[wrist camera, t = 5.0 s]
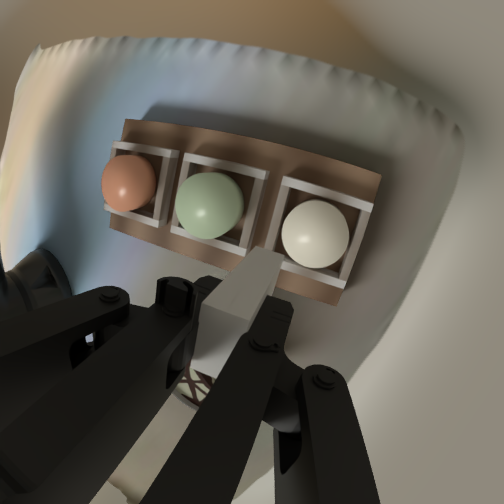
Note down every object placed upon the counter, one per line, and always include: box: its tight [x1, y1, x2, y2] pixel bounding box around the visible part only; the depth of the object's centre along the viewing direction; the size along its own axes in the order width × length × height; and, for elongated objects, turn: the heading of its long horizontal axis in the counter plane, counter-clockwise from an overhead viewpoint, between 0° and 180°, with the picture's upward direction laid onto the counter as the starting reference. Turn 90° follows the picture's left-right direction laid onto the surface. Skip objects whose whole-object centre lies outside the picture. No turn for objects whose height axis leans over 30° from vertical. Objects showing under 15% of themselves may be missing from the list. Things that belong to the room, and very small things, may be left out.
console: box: [104, 119, 382, 306], centre depth 29 cm, size 29×14×5 cm, turn 76°
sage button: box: [175, 172, 244, 239], centre depth 26 cm, size 6×6×2 cm
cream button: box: [282, 199, 349, 268], centre depth 26 cm, size 6×6×2 cm
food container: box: [172, 358, 216, 411], centre depth 33 cm, size 12×6×10 cm, turn 29°
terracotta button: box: [101, 155, 156, 212], centre depth 28 cm, size 6×6×2 cm
